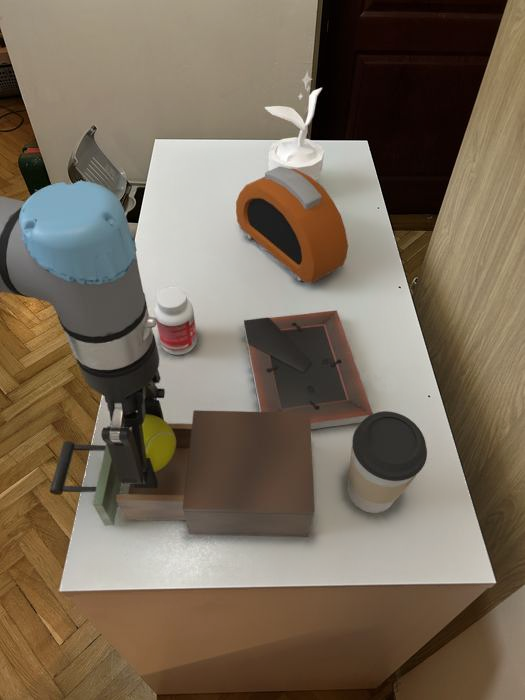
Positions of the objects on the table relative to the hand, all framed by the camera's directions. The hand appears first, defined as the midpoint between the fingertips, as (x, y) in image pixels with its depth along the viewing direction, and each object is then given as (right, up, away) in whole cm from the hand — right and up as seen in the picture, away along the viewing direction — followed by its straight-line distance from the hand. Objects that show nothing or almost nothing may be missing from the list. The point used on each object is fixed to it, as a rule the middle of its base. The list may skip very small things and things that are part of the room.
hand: (151, 456), depth 68 cm
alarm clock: (+19, +33, +38) cm, 54 cm away
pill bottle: (0, +15, +23) cm, 27 cm away
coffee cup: (+30, -6, +7) cm, 31 cm away
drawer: (-3, -5, +6) cm, 8 cm away
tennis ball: (0, 0, 0) cm, 0 cm away
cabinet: (+13, -6, +7) cm, 15 cm away
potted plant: (+21, +49, +51) cm, 73 cm away
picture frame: (+21, +10, +19) cm, 30 cm away
